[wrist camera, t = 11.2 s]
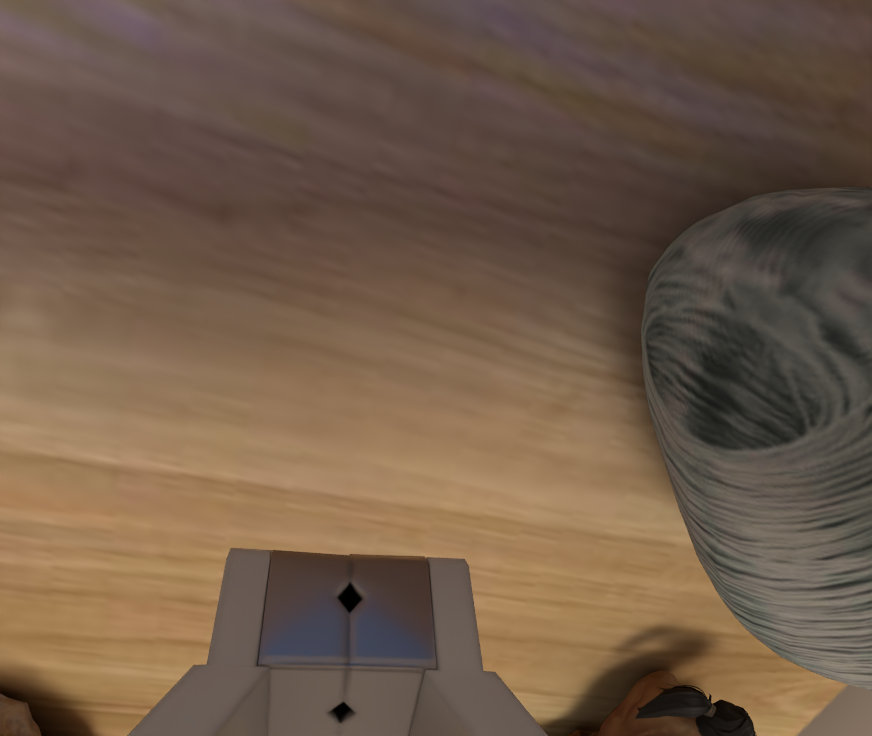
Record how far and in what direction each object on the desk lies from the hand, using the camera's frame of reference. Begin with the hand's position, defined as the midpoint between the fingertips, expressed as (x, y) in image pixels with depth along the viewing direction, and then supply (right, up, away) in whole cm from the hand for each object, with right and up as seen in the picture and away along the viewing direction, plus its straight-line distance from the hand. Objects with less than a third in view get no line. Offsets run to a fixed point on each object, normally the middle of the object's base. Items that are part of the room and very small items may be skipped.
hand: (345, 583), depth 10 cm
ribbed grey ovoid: (+11, +3, +12) cm, 16 cm away
